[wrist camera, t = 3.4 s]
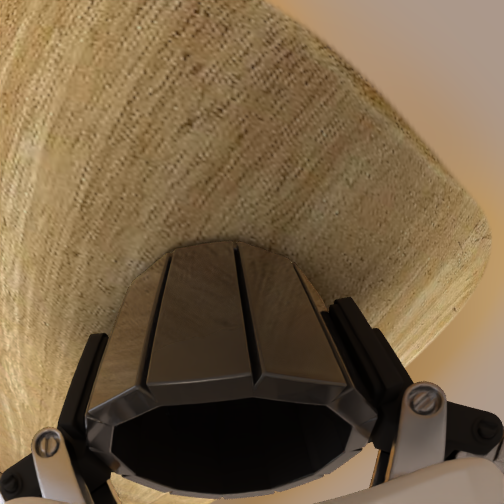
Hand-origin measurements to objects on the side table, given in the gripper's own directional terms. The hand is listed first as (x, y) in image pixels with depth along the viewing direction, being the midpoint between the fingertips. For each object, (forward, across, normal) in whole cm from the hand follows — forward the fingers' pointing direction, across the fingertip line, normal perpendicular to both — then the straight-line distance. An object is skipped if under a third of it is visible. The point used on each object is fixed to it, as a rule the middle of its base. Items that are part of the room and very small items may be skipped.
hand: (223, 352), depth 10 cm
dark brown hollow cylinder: (+1, 0, 0) cm, 1 cm away
